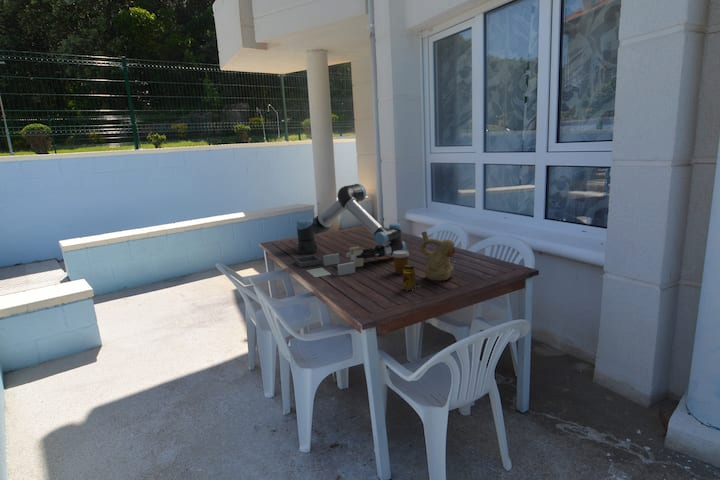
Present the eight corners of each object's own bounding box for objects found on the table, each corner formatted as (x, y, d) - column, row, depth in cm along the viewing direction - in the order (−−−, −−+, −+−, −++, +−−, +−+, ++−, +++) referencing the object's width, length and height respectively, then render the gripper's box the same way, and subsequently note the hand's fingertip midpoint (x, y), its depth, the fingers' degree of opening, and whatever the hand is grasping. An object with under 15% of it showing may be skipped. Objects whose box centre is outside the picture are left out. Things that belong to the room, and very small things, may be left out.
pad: (306, 270, 257) (306, 270, 257) (321, 267, 261) (321, 267, 261) (314, 277, 243) (314, 277, 243) (331, 274, 247) (331, 274, 247)
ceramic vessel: (450, 284, 219) (449, 236, 213) (415, 279, 229) (413, 234, 223) (461, 274, 233) (461, 230, 227) (427, 270, 243) (426, 227, 237)
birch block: (350, 265, 264) (349, 247, 261) (359, 263, 266) (358, 246, 263) (354, 267, 258) (353, 249, 256) (363, 265, 261) (362, 248, 258)
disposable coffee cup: (398, 276, 237) (398, 255, 234) (389, 272, 245) (388, 251, 242) (413, 272, 241) (412, 252, 238) (403, 268, 249) (403, 249, 247)
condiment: (400, 289, 216) (399, 266, 214) (409, 284, 223) (408, 262, 220) (412, 291, 212) (411, 268, 209) (421, 286, 218) (420, 264, 215)
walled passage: (323, 265, 267) (323, 255, 266) (338, 262, 271) (337, 253, 269) (339, 275, 244) (338, 265, 242) (355, 272, 248) (354, 262, 246)
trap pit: (294, 262, 276) (294, 258, 275) (315, 259, 281) (315, 254, 280) (301, 268, 263) (300, 263, 262) (322, 264, 269) (322, 259, 268)
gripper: (390, 259, 260) (355, 266, 251) (376, 253, 277) (343, 258, 268) (389, 247, 258) (354, 253, 249) (375, 241, 275) (342, 247, 266)
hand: (348, 256), depth 259 cm, fingers closed on birch block, 6 cm apart
